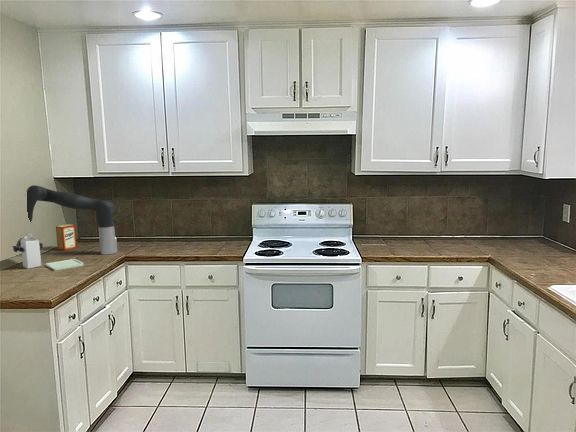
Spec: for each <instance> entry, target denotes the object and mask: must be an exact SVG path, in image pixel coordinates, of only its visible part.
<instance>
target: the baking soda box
mask: <svg viewBox="0 0 576 432" xmlns="http://www.w3.org/2000/svg"><path fill="white" fill-rule="evenodd" d="M55 230H56V231H55V232H56V243H57V250H58V251H59V250H60V251H67V250H72V249H77V247H78V243H77V232H76V224H72V223H71V224H70V223H69V224H63V225H62V224H61V225H56V226H55Z"/></svg>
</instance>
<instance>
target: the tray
mask: <svg viewBox="0 0 576 432" xmlns="http://www.w3.org/2000/svg"><path fill="white" fill-rule="evenodd" d="M84 266H85V262H83V261H81V260H78V259H76V258H73V259H72V258H70V259H65V260H59V261H54V262H47V263H45V267H46V268H49V269H50V270H52V271H54V272H55V271H61V270H67V269H72V268H77V267H84Z"/></svg>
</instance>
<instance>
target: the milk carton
mask: <svg viewBox="0 0 576 432" xmlns="http://www.w3.org/2000/svg"><path fill="white" fill-rule="evenodd" d="M20 242H21V247H22V248H23V251H24V252H21V258H22V259H21V260H22V268H25V269H28V270H29V269H33V268H38V267H42V259H41V258H42V257H41V249H40V246H39V243H40V240H39V239H37V238H35V236H33V234H31V233H26V236H25V237H23V239H22V240H21V241H20Z"/></svg>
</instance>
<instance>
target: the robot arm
mask: <svg viewBox="0 0 576 432" xmlns="http://www.w3.org/2000/svg"><path fill="white" fill-rule="evenodd" d="M26 192H27V212H28V218H29V220H30V222H31V221H33V216H34V215H33V214H34V209H35V206H36V204H37V202H47V203H54V204H57V205H59V206H62V207H64V208H69V209H74V210H84V211H85V210H86V211H94V212H95V215H96V221H97V222H96V223H97V224H98V237H99V249H100V251H99V252H100V254H101V255H112V254H117V253H118V243H117V237H116V233H115V232H116V231H115V229H116V228H115V221H113V216H112V214H113V213H114V212H115V209H116V208H115V207H116V206H115V205H114V204H115V203H113V202H111V201H110V200H103V199H96V198H92V197H87V196H84V195H81V194H78V193H77V194H76V193H72V192H66V191H65V192H64V191H56V190H52V189H49V188H46V187H43V186H40V185H35V184H32V185H30V186H29V187H27V189H26ZM31 223H32V222H31ZM22 239H23V238H20V239H19V240H18V241H17V244H16V246H12V250H13V252H15V253H17V252H20V253H22V252H24V251H23V248H22V247H21V242H20V241H21V240H22ZM39 246H40V250H42V249H43V248H44V247H43V243H42V242H39Z"/></svg>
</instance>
